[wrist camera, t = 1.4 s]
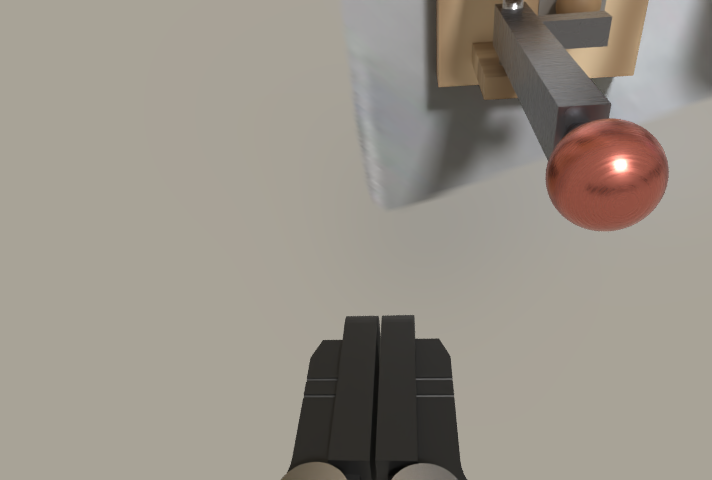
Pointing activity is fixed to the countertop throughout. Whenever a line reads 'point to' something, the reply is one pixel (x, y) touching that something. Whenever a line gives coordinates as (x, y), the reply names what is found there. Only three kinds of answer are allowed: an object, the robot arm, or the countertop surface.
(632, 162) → the lever
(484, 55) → the cracker base
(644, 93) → the countertop surface
